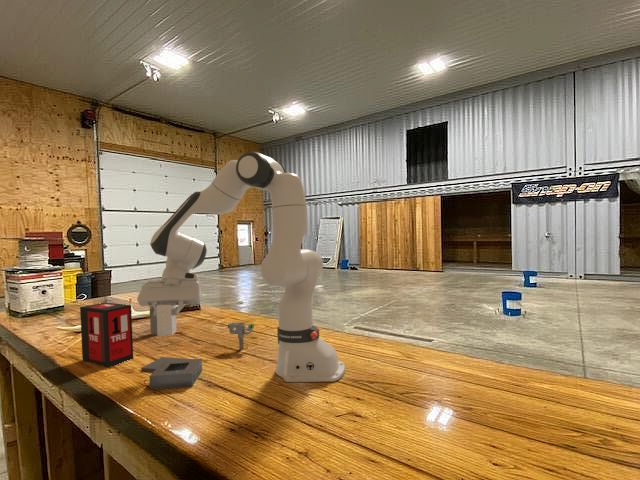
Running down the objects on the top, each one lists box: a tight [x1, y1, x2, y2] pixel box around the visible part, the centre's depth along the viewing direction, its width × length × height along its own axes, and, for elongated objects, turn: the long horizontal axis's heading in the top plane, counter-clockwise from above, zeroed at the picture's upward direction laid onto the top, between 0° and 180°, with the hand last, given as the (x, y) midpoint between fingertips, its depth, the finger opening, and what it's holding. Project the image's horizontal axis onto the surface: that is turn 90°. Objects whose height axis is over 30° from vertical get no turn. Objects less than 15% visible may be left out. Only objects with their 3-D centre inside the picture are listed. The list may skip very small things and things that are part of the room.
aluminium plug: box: [156, 302, 177, 337], centre depth 111 cm, size 4×4×10 cm
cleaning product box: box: [79, 301, 134, 368], centre depth 124 cm, size 16×9×20 cm, turn 62°
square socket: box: [149, 357, 203, 391], centre depth 105 cm, size 12×12×4 cm
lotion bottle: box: [149, 306, 158, 336], centre depth 156 cm, size 6×6×20 cm
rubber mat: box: [140, 356, 187, 373], centre depth 116 cm, size 10×10×1 cm
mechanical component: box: [227, 322, 255, 351], centre depth 131 cm, size 3×10×10 cm, turn 79°
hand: (165, 314), depth 110 cm, fingers closed on aluminium plug, 4 cm apart
